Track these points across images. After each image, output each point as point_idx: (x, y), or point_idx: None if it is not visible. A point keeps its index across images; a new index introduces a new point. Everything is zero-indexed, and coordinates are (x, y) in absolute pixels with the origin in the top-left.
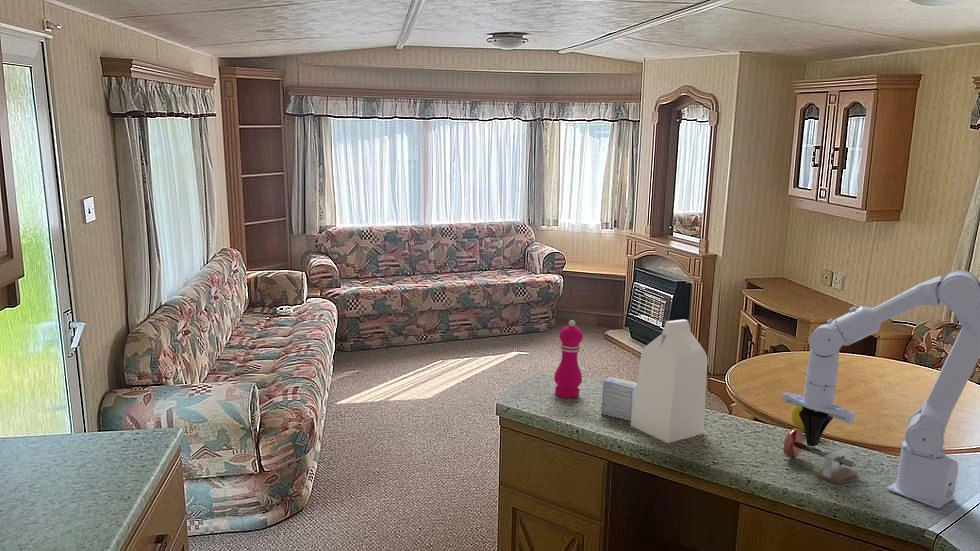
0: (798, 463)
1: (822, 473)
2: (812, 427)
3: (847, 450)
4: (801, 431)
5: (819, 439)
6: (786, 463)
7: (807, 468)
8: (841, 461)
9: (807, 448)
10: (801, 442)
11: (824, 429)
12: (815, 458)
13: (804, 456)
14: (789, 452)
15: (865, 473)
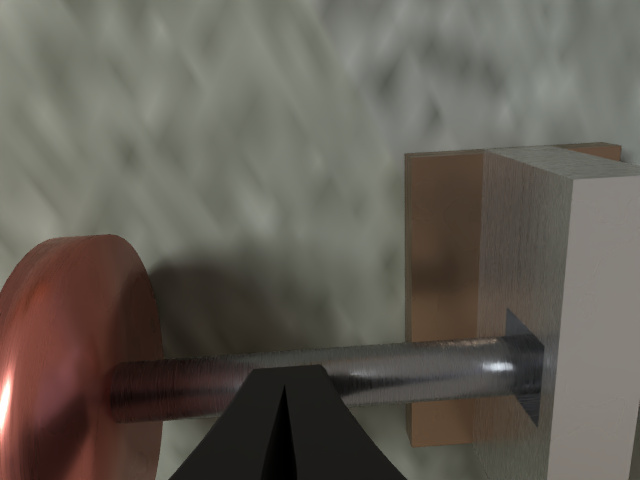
0: (222, 346)
1: (459, 423)
2: None
3: (635, 245)
4: (50, 399)
5: (335, 391)
6: (180, 421)
7: None
8: None
9: None
10: (103, 288)
11: (401, 475)
12: (225, 126)
13: (152, 176)
14: (154, 451)
15: (632, 29)
